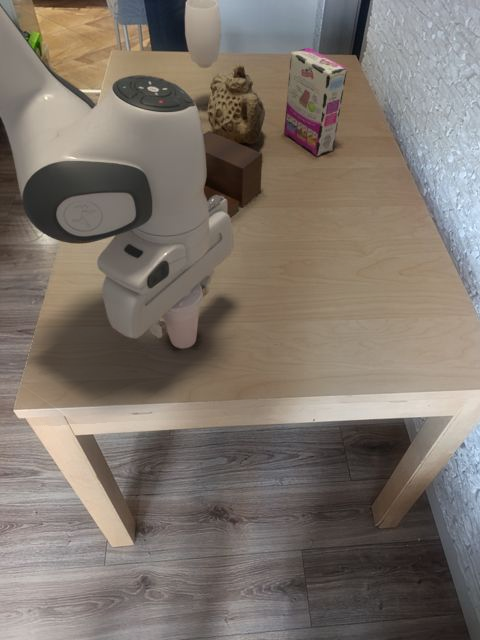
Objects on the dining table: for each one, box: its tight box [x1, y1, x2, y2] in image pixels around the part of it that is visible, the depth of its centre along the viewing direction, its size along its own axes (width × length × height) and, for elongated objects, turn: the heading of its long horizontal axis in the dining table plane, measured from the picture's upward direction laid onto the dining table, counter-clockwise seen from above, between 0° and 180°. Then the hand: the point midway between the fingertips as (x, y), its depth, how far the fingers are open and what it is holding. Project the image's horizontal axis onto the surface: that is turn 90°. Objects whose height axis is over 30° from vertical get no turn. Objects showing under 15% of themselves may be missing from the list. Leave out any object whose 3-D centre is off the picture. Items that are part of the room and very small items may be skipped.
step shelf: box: [203, 130, 263, 218], centre depth 88 cm, size 12×19×8 cm, turn 146°
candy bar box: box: [283, 47, 348, 157], centre depth 100 cm, size 11×5×16 cm, turn 37°
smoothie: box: [161, 283, 204, 349], centre depth 67 cm, size 6×6×14 cm
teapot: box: [206, 63, 266, 145], centre depth 99 cm, size 21×12×15 cm, turn 23°
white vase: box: [184, 0, 222, 69], centre depth 104 cm, size 7×7×21 cm
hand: (180, 312), depth 68 cm, fingers open, 7 cm apart
